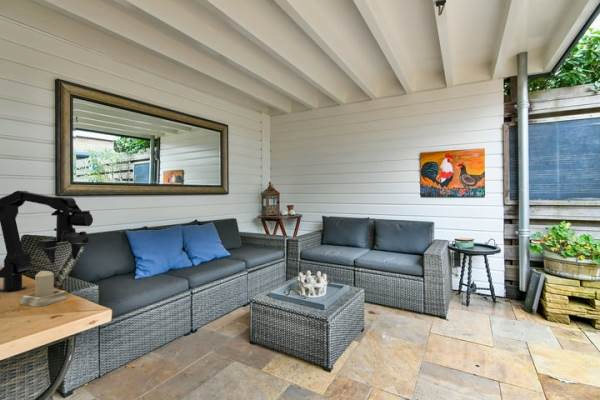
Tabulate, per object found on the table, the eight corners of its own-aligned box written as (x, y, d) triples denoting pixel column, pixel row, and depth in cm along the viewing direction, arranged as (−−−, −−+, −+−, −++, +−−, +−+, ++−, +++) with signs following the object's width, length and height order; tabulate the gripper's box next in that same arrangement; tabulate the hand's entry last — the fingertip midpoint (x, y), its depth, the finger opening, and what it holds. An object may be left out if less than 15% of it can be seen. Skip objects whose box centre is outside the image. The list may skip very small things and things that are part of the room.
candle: (57, 294, 120) (57, 269, 120) (44, 299, 115) (44, 273, 115) (44, 294, 121) (45, 269, 121) (30, 298, 115) (31, 272, 115)
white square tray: (20, 303, 114) (20, 296, 114) (48, 296, 124) (48, 288, 124) (39, 307, 112) (39, 299, 112) (67, 298, 121) (67, 291, 121)
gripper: (55, 228, 121) (55, 267, 121) (98, 225, 139) (97, 258, 139) (35, 227, 124) (35, 265, 124) (80, 224, 142) (79, 257, 142)
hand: (64, 261), depth 132 cm, fingers open, 9 cm apart
